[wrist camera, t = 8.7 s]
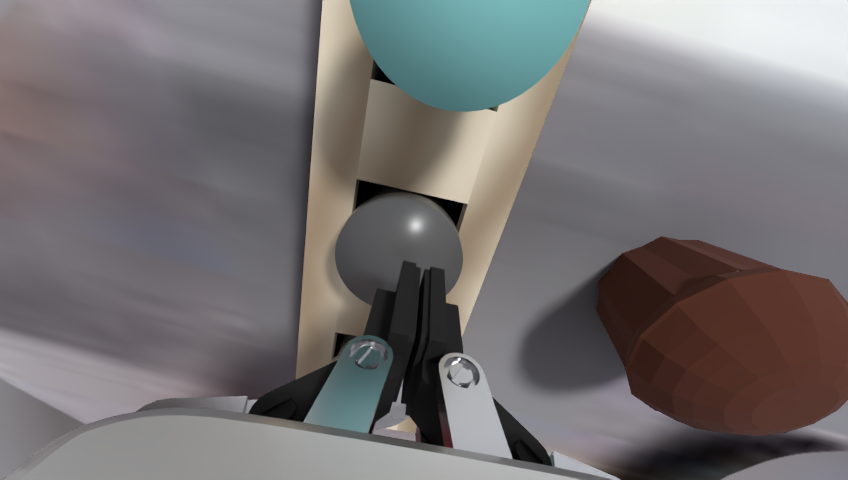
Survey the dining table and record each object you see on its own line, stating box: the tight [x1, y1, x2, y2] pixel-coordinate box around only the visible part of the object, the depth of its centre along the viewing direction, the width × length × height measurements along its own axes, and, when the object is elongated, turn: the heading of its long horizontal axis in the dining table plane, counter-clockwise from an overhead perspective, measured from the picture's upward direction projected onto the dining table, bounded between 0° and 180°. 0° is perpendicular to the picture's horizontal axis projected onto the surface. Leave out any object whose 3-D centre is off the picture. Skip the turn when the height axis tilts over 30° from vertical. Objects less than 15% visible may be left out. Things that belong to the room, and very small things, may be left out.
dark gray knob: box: [335, 184, 463, 306], centre depth 17 cm, size 6×6×6 cm
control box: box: [295, 0, 591, 433], centre depth 19 cm, size 10×32×5 cm, turn 167°
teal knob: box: [350, 0, 590, 112], centre depth 10 cm, size 6×6×6 cm
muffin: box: [597, 237, 848, 436], centre depth 19 cm, size 12×11×10 cm
